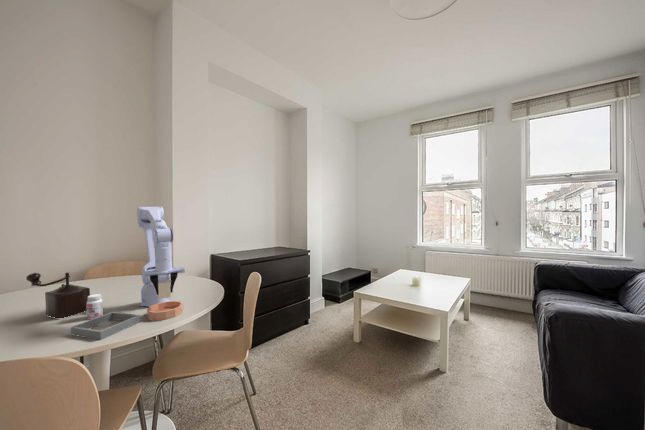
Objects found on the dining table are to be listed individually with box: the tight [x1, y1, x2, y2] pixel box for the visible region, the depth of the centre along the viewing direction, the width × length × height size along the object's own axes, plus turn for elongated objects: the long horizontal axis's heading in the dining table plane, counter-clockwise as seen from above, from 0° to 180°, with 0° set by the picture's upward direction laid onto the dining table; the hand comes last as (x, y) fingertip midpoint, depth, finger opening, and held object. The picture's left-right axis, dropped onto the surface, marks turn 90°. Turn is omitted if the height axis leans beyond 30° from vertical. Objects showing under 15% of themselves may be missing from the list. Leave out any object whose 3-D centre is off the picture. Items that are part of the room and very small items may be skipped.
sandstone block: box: [158, 279, 172, 299], centre depth 105 cm, size 4×4×6 cm
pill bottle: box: [86, 293, 104, 320], centre depth 103 cm, size 5×5×8 cm
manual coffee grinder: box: [25, 272, 91, 319], centre depth 105 cm, size 16×11×18 cm
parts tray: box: [70, 311, 141, 340], centre depth 93 cm, size 14×14×2 cm
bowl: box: [146, 300, 184, 321], centre depth 105 cm, size 12×12×3 cm
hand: (164, 292), depth 105 cm, fingers closed on sandstone block, 4 cm apart
